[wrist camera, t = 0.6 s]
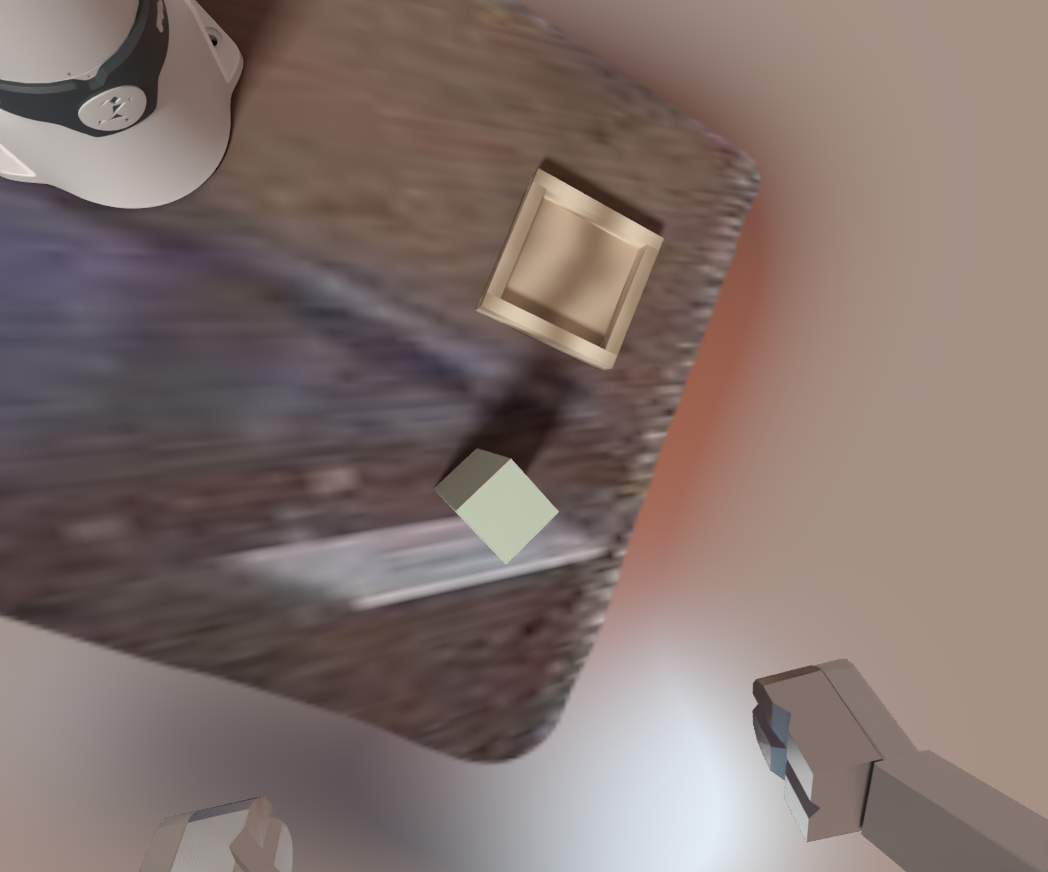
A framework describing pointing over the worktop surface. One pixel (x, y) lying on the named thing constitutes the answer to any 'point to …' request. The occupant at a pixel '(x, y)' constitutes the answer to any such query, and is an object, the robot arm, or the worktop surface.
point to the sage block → (496, 502)
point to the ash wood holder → (570, 272)
